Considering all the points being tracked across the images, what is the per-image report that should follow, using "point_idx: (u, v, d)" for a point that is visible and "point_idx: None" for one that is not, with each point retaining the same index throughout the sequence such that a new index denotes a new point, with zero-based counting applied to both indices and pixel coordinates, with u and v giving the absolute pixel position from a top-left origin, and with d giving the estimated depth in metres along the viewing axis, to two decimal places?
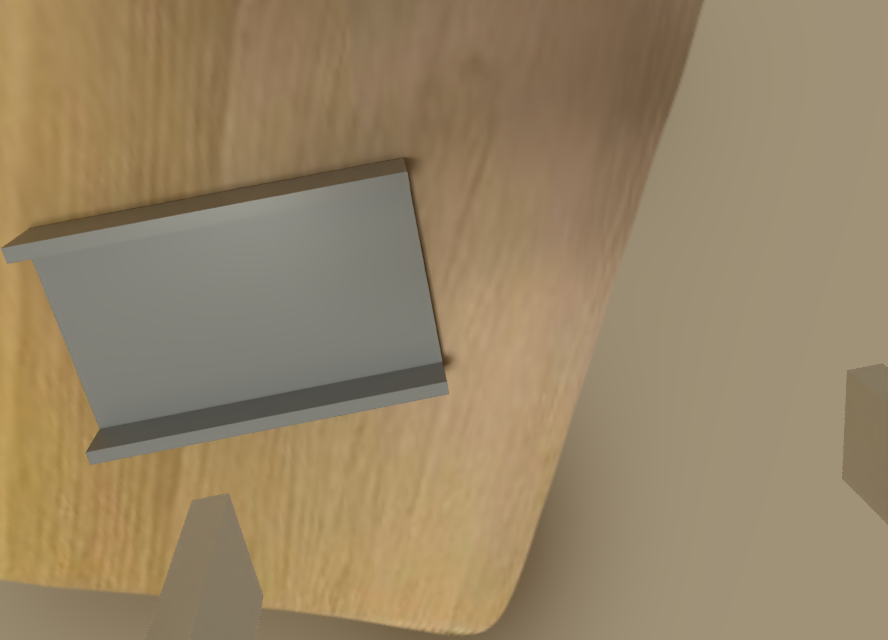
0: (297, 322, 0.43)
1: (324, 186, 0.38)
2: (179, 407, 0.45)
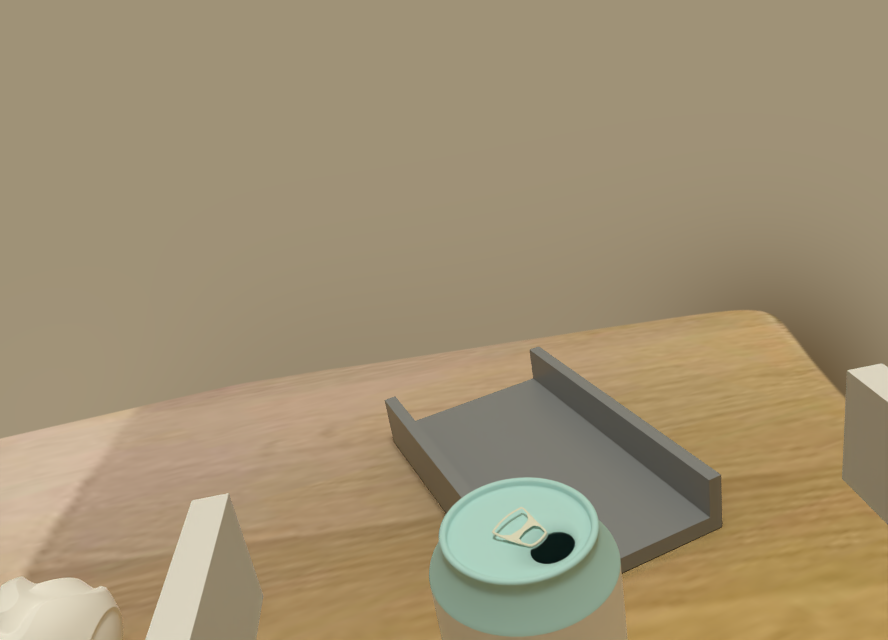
0: (533, 440, 0.52)
1: (404, 427, 0.52)
2: (651, 477, 0.47)
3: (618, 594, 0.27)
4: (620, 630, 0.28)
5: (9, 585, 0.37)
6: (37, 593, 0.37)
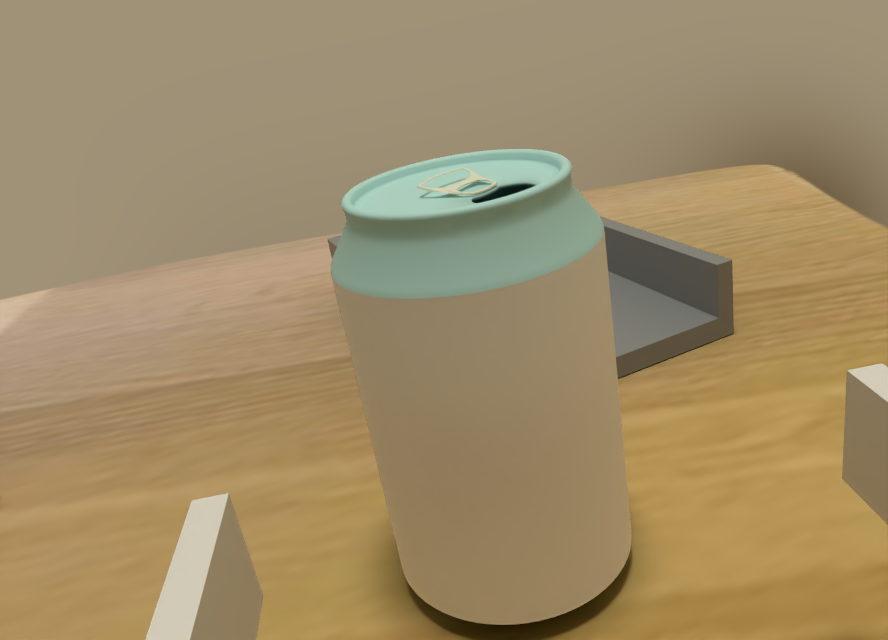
0: None
1: None
2: (644, 291, 0.38)
3: (601, 265, 0.19)
4: (605, 326, 0.19)
5: None
6: None
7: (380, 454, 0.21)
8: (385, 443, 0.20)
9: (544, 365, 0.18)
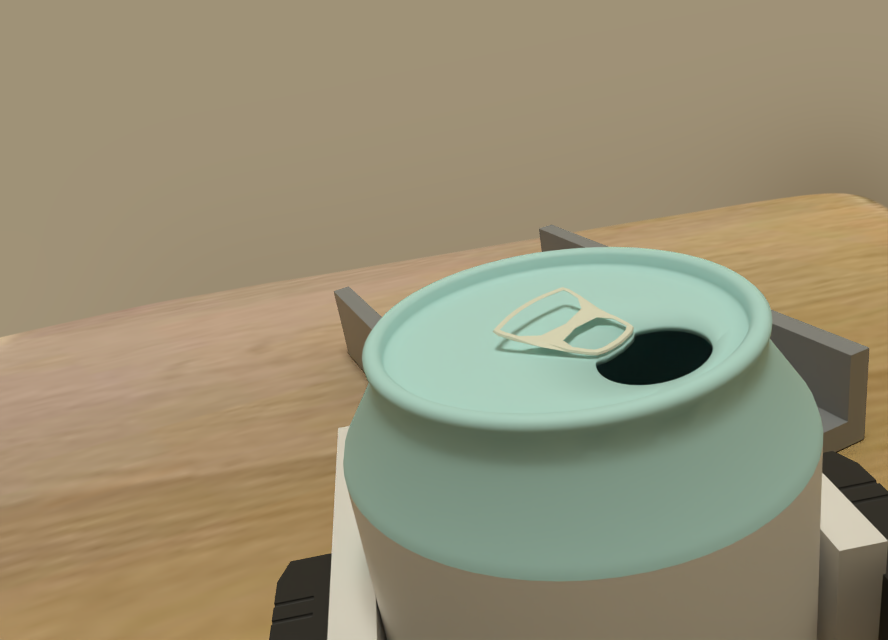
0: None
1: (359, 319, 0.35)
2: None
3: (821, 478, 0.11)
4: (818, 574, 0.11)
5: None
6: None
7: None
8: None
9: None
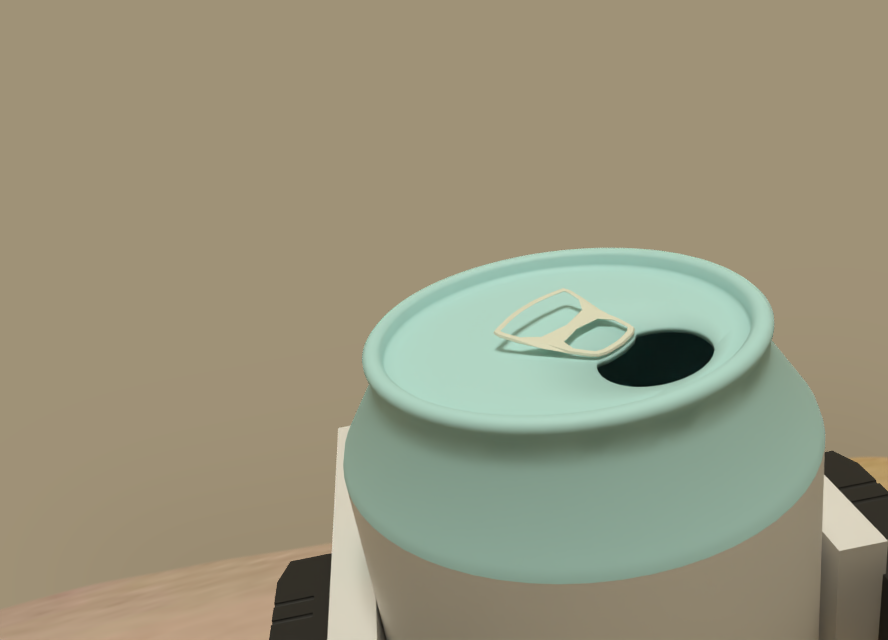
0: None
1: None
2: None
3: None
4: (820, 576, 0.11)
5: None
6: None
7: None
8: None
9: None
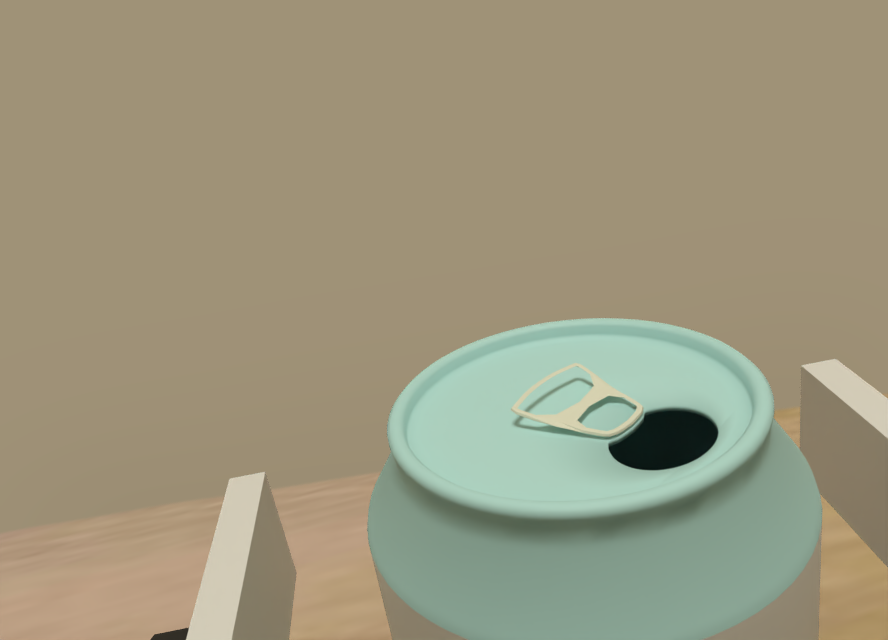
0: None
1: None
2: None
3: (820, 553, 0.11)
4: None
5: None
6: None
7: None
8: None
9: None
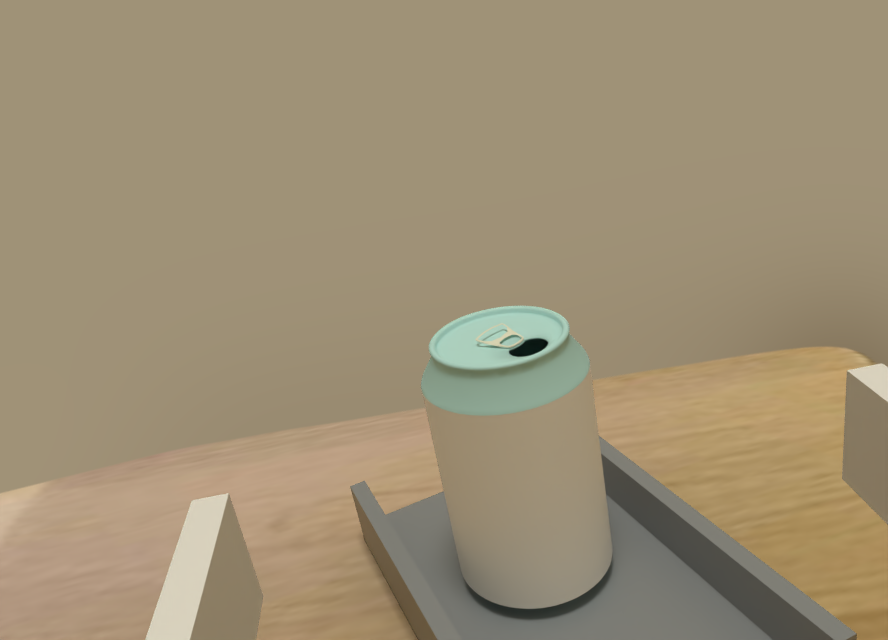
0: None
1: (374, 531, 0.37)
2: (734, 616, 0.32)
3: (587, 389, 0.31)
4: (590, 424, 0.31)
5: None
6: None
7: (451, 501, 0.33)
8: (455, 495, 0.32)
9: (553, 451, 0.30)
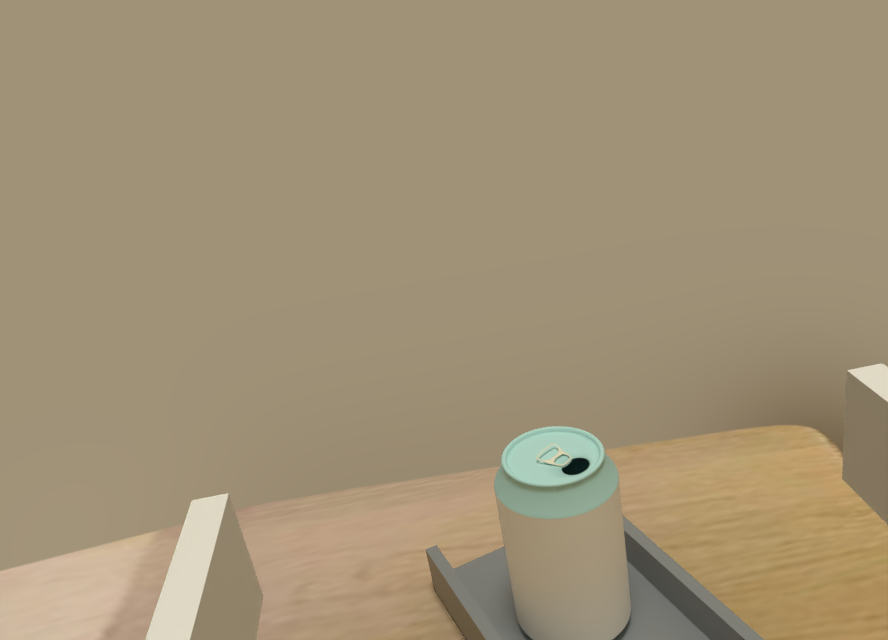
0: None
1: (450, 588, 0.49)
2: None
3: (617, 496, 0.43)
4: (619, 520, 0.44)
5: None
6: None
7: (515, 572, 0.45)
8: (519, 569, 0.44)
9: (593, 542, 0.42)
